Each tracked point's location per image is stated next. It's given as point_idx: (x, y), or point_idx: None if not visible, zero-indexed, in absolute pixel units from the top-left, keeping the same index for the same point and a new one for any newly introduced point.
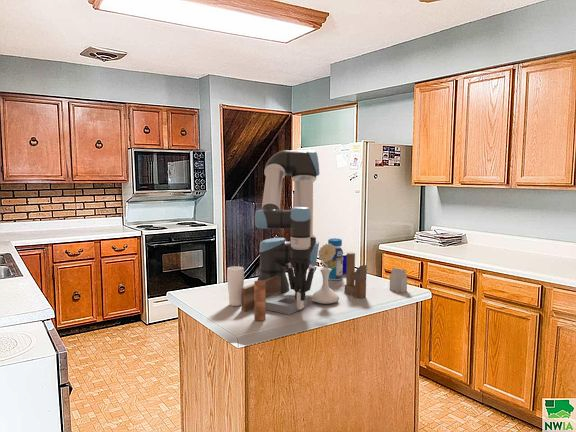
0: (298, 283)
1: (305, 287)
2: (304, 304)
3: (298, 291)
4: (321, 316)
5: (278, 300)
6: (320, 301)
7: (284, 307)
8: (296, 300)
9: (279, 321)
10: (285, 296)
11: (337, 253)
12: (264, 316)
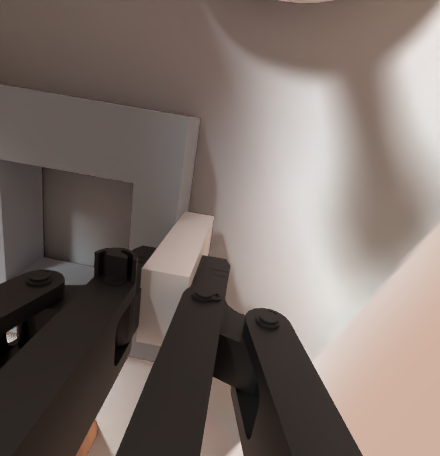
0: (93, 392)
1: (248, 424)
2: (192, 148)
3: (139, 311)
4: (377, 277)
5: (1, 254)
6: (309, 2)
7: None
8: (120, 180)
9: None
10: None
11: None
12: (87, 449)
